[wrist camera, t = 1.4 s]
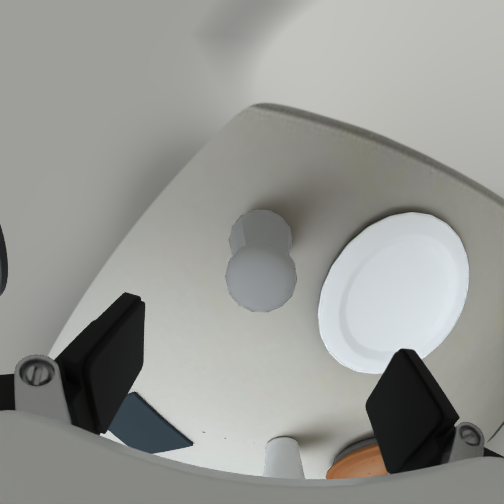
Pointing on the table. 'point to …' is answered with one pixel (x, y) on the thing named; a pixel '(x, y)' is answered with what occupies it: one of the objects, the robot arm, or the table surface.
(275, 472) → the drinking glass
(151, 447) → the mat
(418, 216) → the plate
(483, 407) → the table surface
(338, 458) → the pie
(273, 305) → the salt shaker
